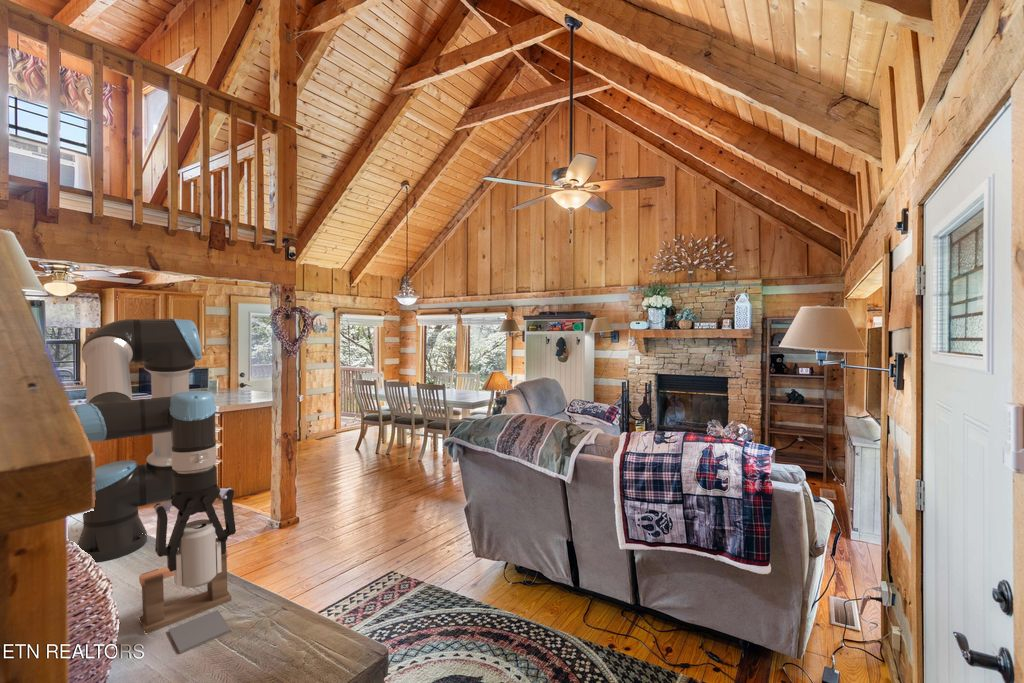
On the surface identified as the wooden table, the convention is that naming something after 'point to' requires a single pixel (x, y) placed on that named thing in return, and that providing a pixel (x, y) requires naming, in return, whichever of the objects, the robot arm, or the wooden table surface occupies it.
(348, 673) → the wooden table surface
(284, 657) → the wooden table surface
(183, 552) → the beverage can
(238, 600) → the wooden table surface
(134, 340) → the robot arm
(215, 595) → the walnut stand
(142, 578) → the crossbar
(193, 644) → the rubber mat
